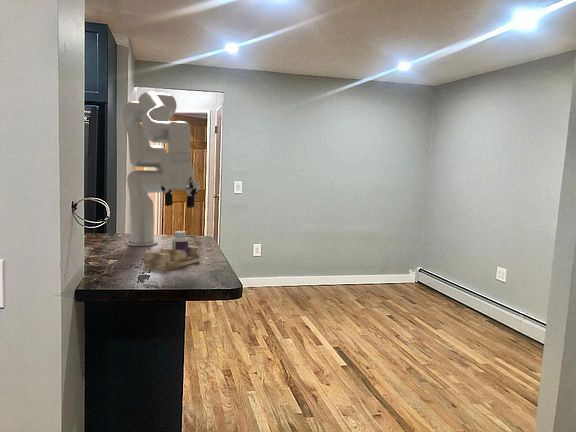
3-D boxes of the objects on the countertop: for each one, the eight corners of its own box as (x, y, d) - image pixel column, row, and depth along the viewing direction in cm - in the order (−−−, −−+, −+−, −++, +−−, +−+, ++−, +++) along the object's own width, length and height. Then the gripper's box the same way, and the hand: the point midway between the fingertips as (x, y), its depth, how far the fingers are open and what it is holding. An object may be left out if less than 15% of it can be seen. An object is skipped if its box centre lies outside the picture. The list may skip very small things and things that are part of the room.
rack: (144, 266, 157) (144, 251, 156) (177, 258, 172) (177, 244, 171) (168, 270, 153) (167, 254, 152) (199, 261, 167) (199, 247, 167)
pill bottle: (191, 258, 166) (191, 231, 165) (180, 260, 162) (180, 233, 161) (180, 256, 169) (180, 230, 168) (169, 258, 165) (169, 231, 164)
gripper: (152, 156, 162) (153, 205, 164) (192, 157, 154) (192, 209, 156) (167, 157, 169) (167, 204, 171) (206, 158, 161) (205, 207, 163)
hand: (179, 206), depth 163 cm, fingers open, 9 cm apart
